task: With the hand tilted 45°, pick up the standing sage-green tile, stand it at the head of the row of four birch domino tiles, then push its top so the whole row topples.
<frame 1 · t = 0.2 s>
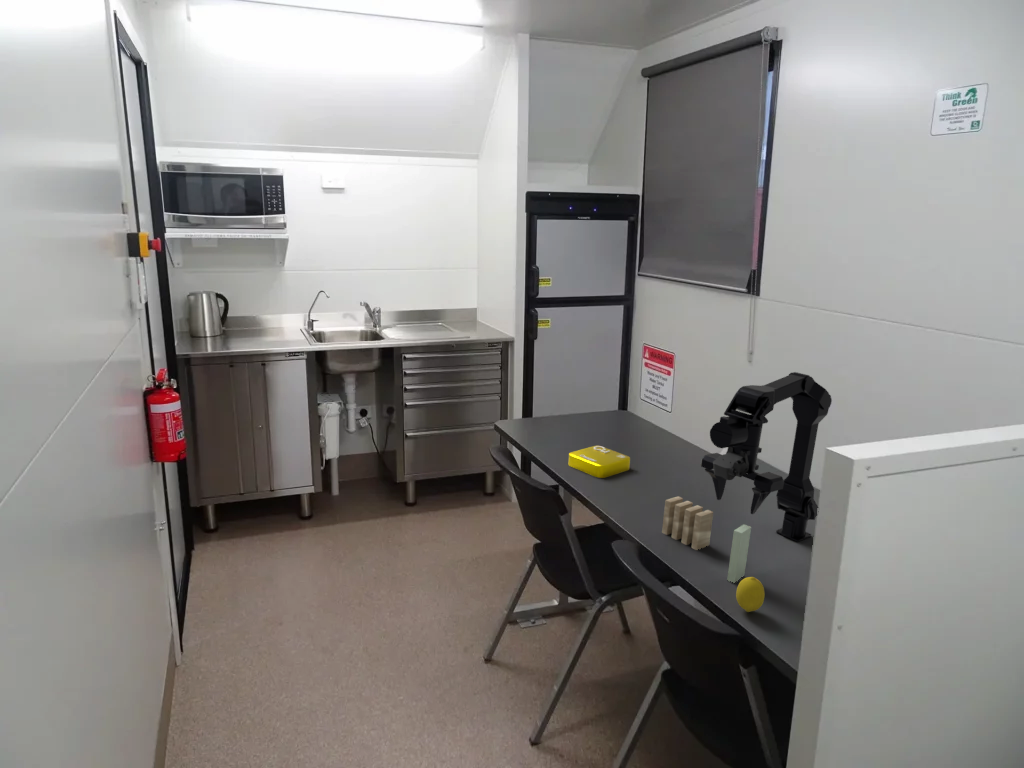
hand: (735, 506, 164), 14 cm above the table, tool pointing down, fingers open, 9 cm apart
lemon: (747, 612, 147), on the table
head tile: (735, 578, 160), on the table
element tile: (598, 468, 226), on the table
tile 4: (670, 531, 182), on the table
tile 2: (690, 541, 177), on the table
tile 1: (700, 546, 175), on the table
tile 3: (680, 536, 180), on the table
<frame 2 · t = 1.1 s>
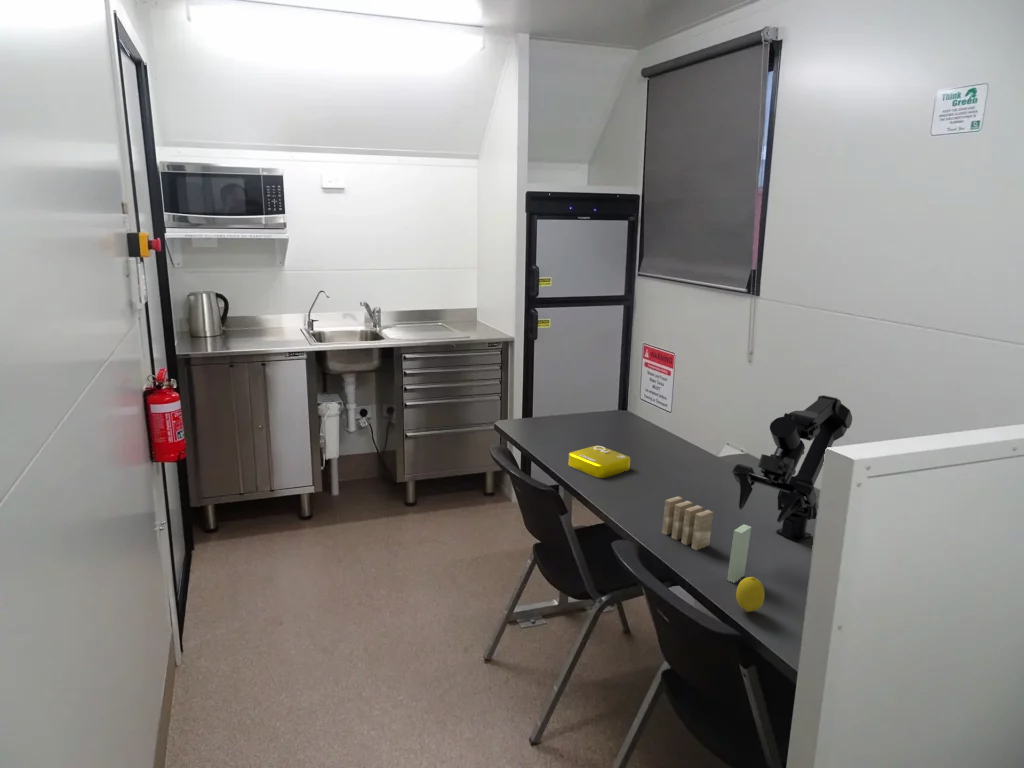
hand: (758, 515, 162), 13 cm above the table, tool tilted 45°, fingers open, 9 cm apart
nothing on the table moved.
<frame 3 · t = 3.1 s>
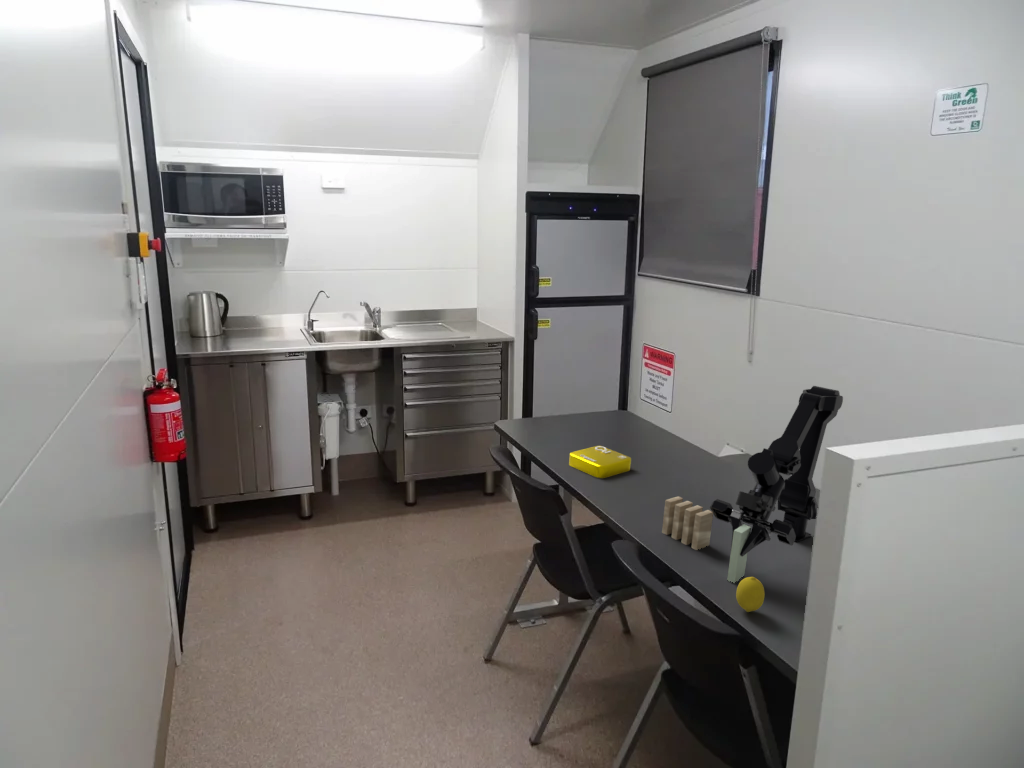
hand: (736, 553, 158), 7 cm above the table, tool tilted 45°, fingers closed on head tile, 2 cm apart
head tile: (735, 578, 160), on the table, touching gripper
everything else where it was.
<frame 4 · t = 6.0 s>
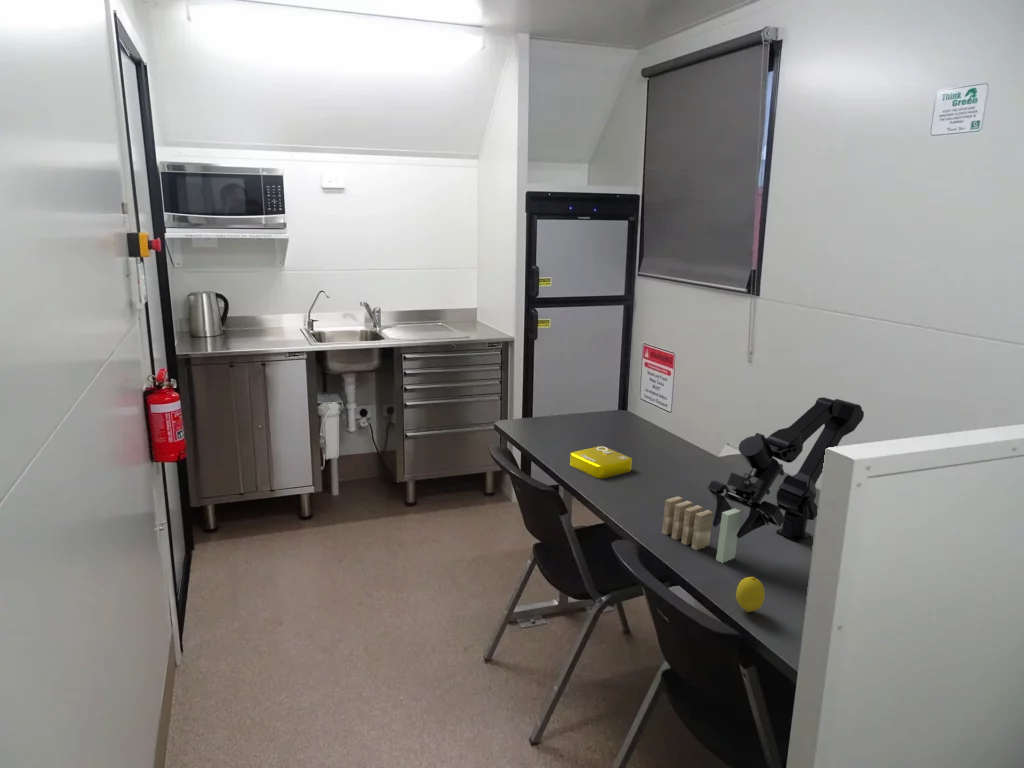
hand: (725, 531, 166), 8 cm above the table, tool tilted 45°, fingers open, 6 cm apart
head tile: (725, 559, 169), on the table
everything else where it was.
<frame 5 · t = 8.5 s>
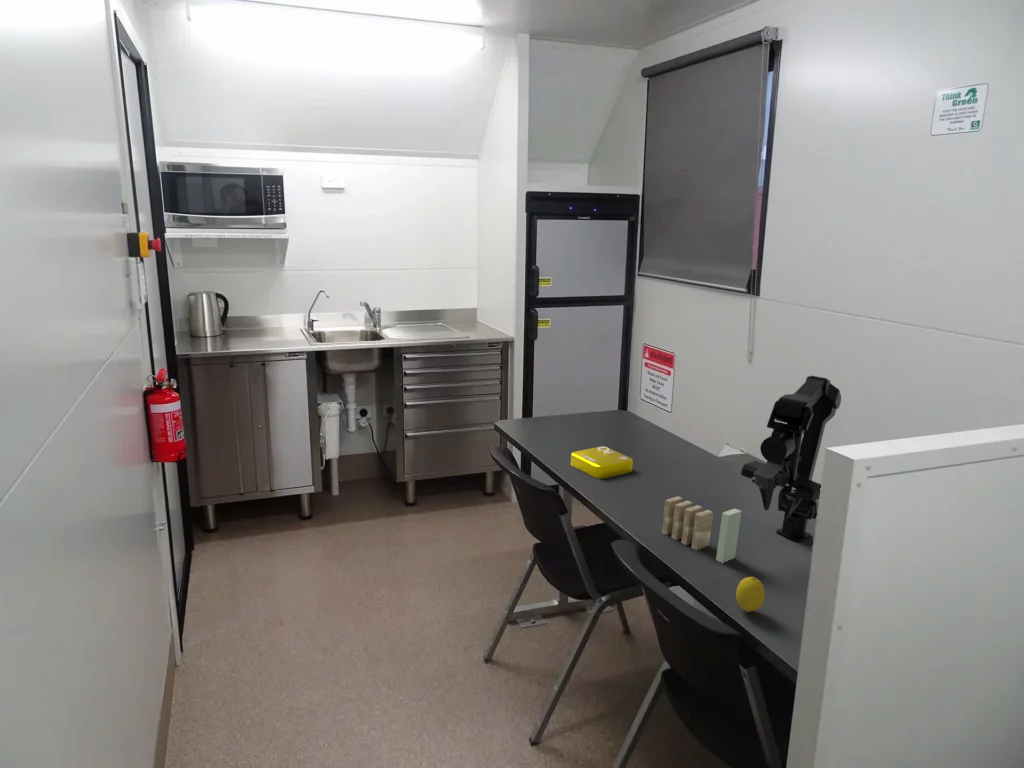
hand: (776, 514, 167), 12 cm above the table, tool pointing down, fingers open, 5 cm apart
nothing on the table moved.
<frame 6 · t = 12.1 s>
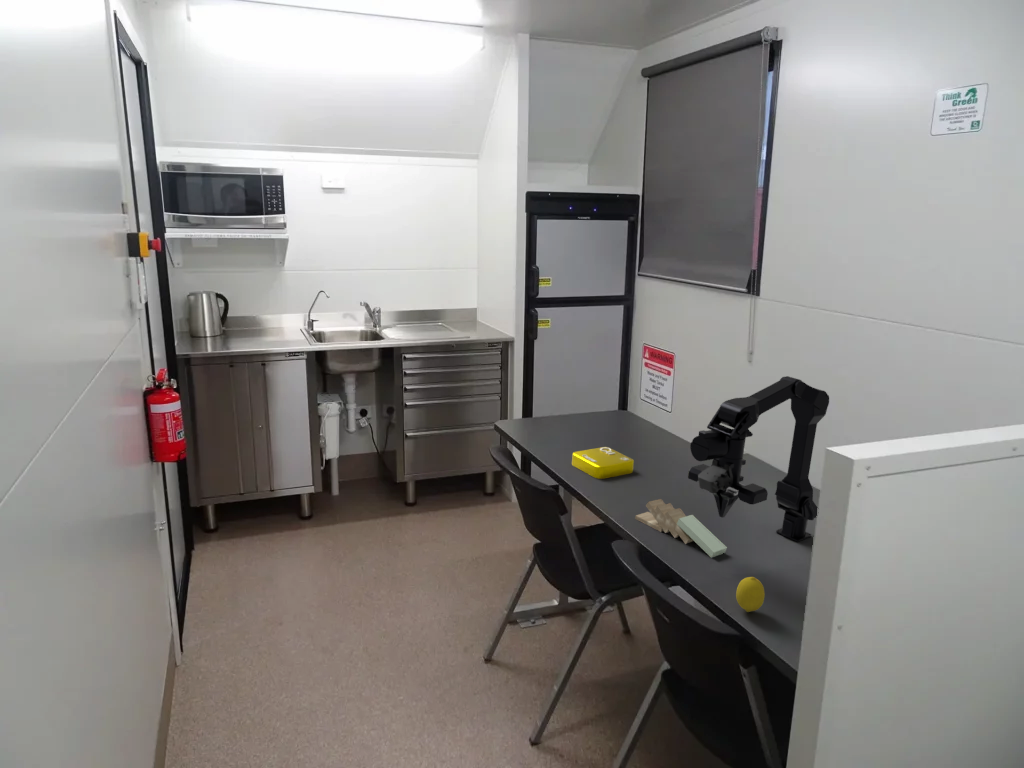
hand: (722, 516, 168), 10 cm above the table, tool pointing down, fingers closed
head tile: (719, 552, 170), point 1 cm above the table, tilted 71°, touching tile 1
tile 4: (667, 529, 183), on the table, tilted 90°, touching tile 3
tile 2: (682, 534, 179), point 1 cm above the table, tilted 60°, touching tile 3
tile 1: (693, 539, 177), point 1 cm above the table, tilted 60°, touching head tile
tile 3: (673, 529, 182), point 1 cm above the table, tilted 60°, touching tile 2, tile 4
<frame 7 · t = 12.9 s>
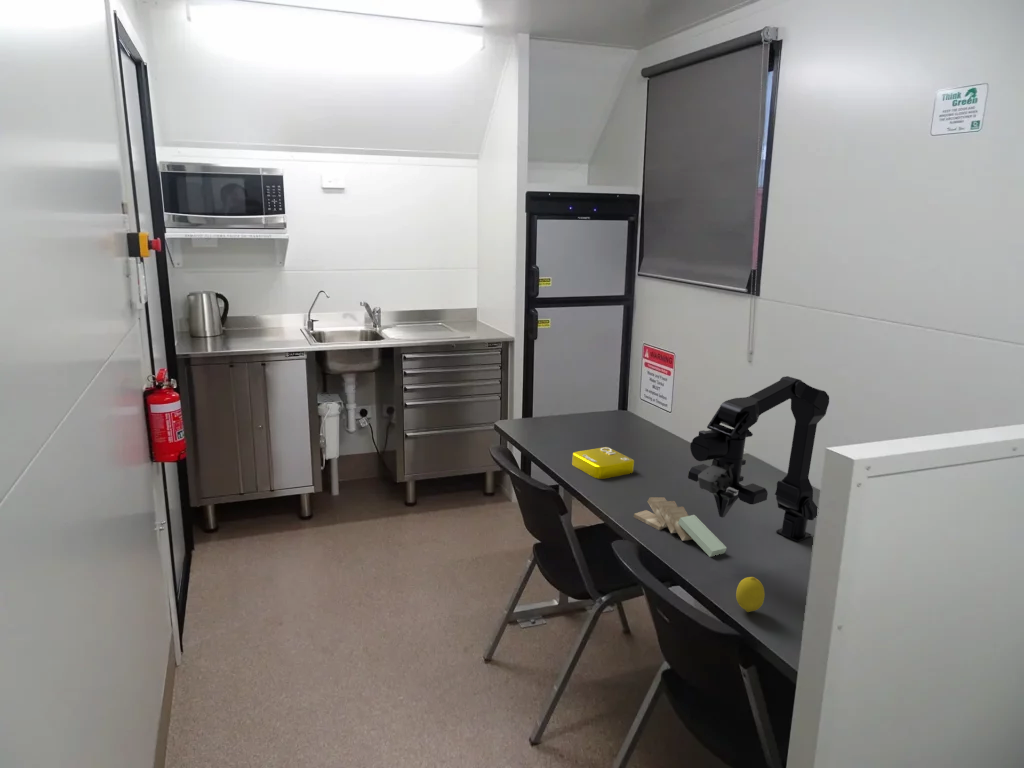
hand: (722, 516, 168), 10 cm above the table, tool pointing down, fingers closed
head tile: (718, 552, 170), point 1 cm above the table, tilted 72°
tile 4: (665, 527, 184), on the table, tilted 90°, touching tile 3
tile 2: (680, 531, 180), point 1 cm above the table, tilted 61°, touching tile 1, tile 3
tile 1: (691, 537, 177), point 1 cm above the table, tilted 61°, touching tile 2
tile 3: (671, 524, 183), point 1 cm above the table, tilted 67°, touching tile 2, tile 4
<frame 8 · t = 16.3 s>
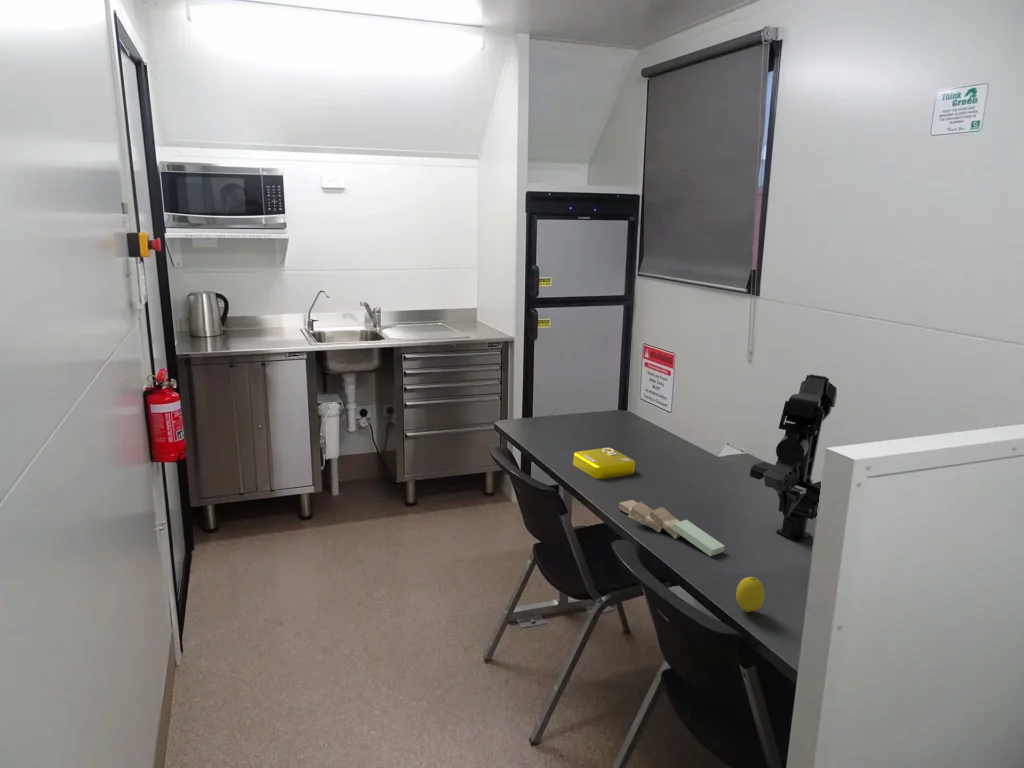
hand: (786, 515, 163), 13 cm above the table, tool pointing down, fingers closed
head tile: (717, 551, 171), point 1 cm above the table, tilted 81°, touching tile 1
tile 4: (660, 527, 185), on the table, tilted 90°, touching tile 3
tile 2: (664, 526, 183), point 1 cm above the table, tilted 70°, touching tile 1, tile 3
tile 1: (681, 533, 179), point 1 cm above the table, tilted 70°, touching head tile, tile 2
tile 3: (647, 516, 187), point 1 cm above the table, tilted 90°, touching tile 2, tile 4
at the end: tile 4 tilted 90°; head tile tilted 81°; the gripper is holding nothing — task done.
